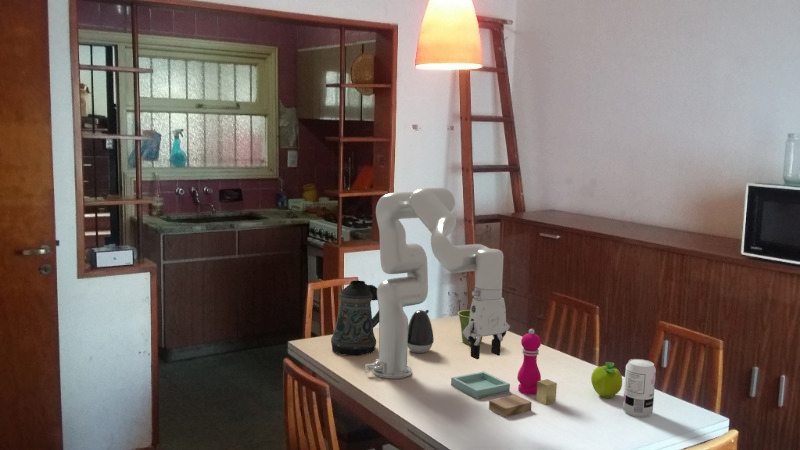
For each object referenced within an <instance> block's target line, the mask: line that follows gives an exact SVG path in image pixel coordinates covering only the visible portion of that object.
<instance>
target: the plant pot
mask: <svg viewBox="0 0 800 450" xmlns="http://www.w3.org/2000/svg"><path fill="white" fill-rule="evenodd" d="M457 315H458V316H459V317H458V318H459V321H460V330H461V331H460V332H461V340H462V343H464V344H466V345H470V346H471V343H469V341H468V340H467V339H466V337H465V336H464V335H463V333H462V332H463V330H464V329H465V328H466V327H467V326H468V324H469V316H470V309H465V310H460V311H458V312H457ZM471 334H472V333H471V332H470V335H471ZM475 339H476V337H475ZM482 341H483V337H481V338H480V341H479V343H478V345H480V344H481V343H482Z"/></svg>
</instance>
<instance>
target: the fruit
mask: <svg viewBox="0 0 800 450" xmlns="http://www.w3.org/2000/svg"><path fill="white" fill-rule="evenodd" d="M614 366H615V363H614V362H608V361H605V365H602V366H597V367H595V369H593V371H592V373H591V378H590V380H591V385H592V388H593V389H594V391H595V393H597V395H598V396H600V397H602V398H612V397H614V396H616V395H617V394H618V393H619V392H620V391H621V390H622V387H623V377H622V373H621V372H620V371H619V369H618V368H616V367H614Z"/></svg>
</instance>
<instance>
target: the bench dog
mask: <svg viewBox="0 0 800 450" xmlns="http://www.w3.org/2000/svg"><path fill="white" fill-rule="evenodd" d="M557 386H558V385H557V382H555V381H552V380H550V379H547V378H546V379H541V381H538V382H537V394H536V401H537V402H538V403H541V404H543V405H545V406H547V405H551V404H552V405H553V404H555V403H557V388H558V387H557Z"/></svg>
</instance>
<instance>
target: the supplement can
mask: <svg viewBox="0 0 800 450" xmlns="http://www.w3.org/2000/svg"><path fill="white" fill-rule="evenodd" d="M656 373H657V369H656V367H655V363H653V362H652V361H651V360H646V359H642V358H641V359H640V358H631V359H629V360H628V362H627V363H626V365H625V373H624V387H623V388H624V389H623V399H622V401H623V402H622V404H623V405H622V409H623V411H624V412H625V413H626V414H627V415H628V416H629V415H630V416H632V417H634V418H635V417H636V418H648V417H650V416H651V415H652V414H653V411H654V401H655V399H654V398H655V387H656Z"/></svg>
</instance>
